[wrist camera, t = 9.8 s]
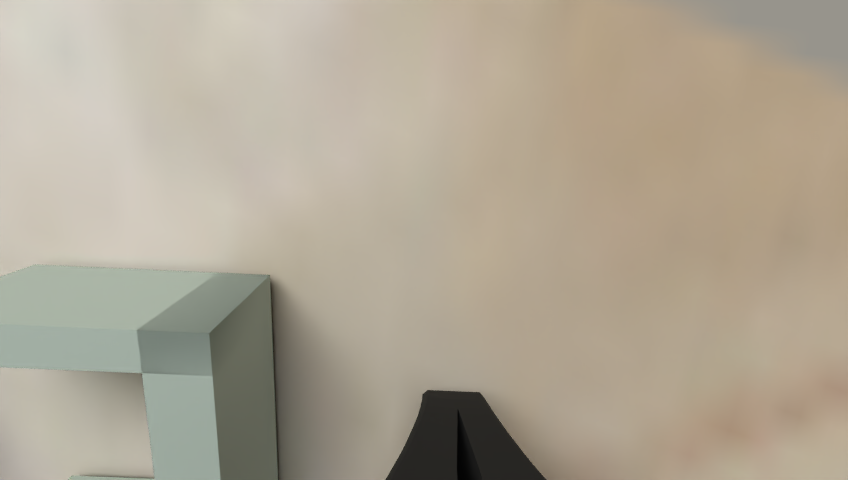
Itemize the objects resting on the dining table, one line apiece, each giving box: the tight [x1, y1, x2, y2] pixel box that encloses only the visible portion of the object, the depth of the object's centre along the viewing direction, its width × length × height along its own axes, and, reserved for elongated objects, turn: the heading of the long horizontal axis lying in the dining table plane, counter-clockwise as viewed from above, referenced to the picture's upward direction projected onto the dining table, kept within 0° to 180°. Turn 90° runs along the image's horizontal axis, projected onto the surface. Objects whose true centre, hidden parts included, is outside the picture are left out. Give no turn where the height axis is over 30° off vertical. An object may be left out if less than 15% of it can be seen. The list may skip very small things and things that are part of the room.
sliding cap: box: [0, 265, 278, 480], centre depth 10 cm, size 7×5×3 cm
